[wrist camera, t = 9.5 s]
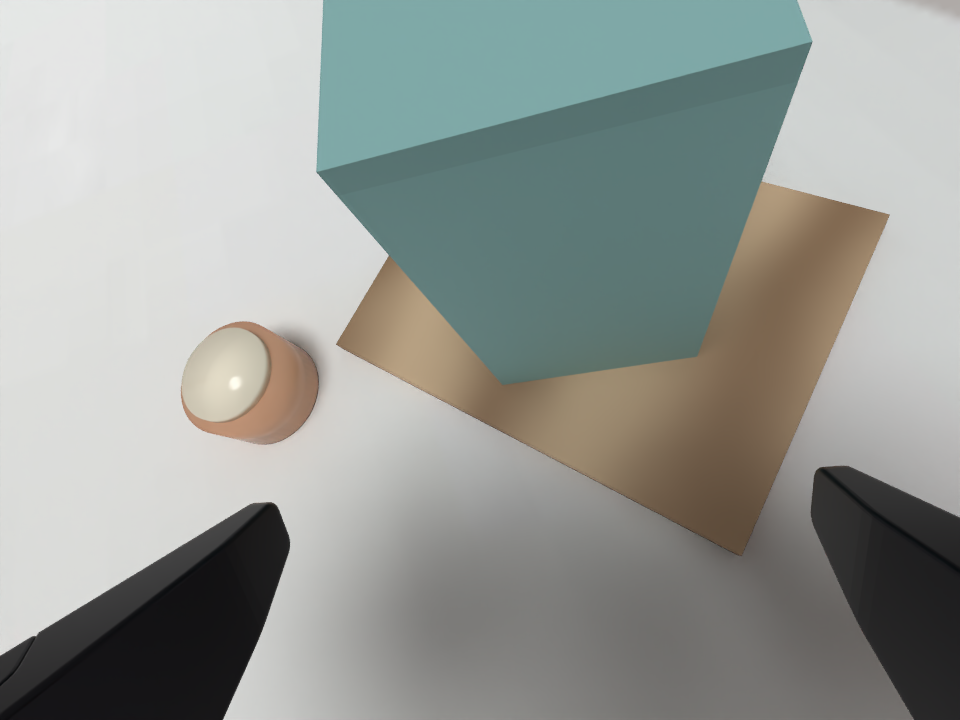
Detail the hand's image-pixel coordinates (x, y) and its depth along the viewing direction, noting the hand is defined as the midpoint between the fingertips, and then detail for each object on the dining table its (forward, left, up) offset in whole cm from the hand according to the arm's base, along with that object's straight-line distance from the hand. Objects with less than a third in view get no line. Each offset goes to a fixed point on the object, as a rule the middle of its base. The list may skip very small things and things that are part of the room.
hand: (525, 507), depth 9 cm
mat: (+3, -7, -9) cm, 12 cm away
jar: (+13, +2, -9) cm, 16 cm away
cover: (+3, -7, -9) cm, 12 cm away
